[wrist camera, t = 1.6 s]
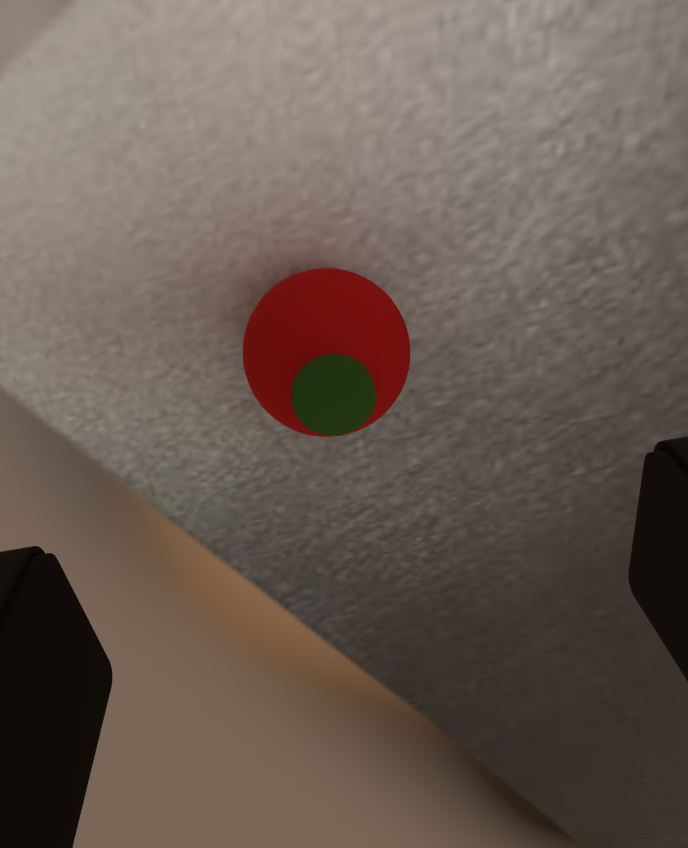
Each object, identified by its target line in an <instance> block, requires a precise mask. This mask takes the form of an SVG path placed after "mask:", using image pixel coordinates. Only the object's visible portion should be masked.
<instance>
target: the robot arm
mask: <svg viewBox="0 0 688 848" xmlns="http://www.w3.org/2000/svg"><path fill="white" fill-rule="evenodd" d="M628 578H629V584H630V588H631V591H632V593H633V595H634V597H635V599H636V600H637V602H638V603H639V605H640V607H641V608H642V610H643V611H644V613H645V615H646V616H647V618H648V619H649V621H650V622H651V624H652V626H653V627H654V629H655V630H656V632H657V633H658V635H659V637H660V638H661V640H662V641H663V643H664V644H665V646H666V648H667V649H668V651H669V652H670V654H671V656H672V657H673V659H674V660H675V662H676V663H677V665H678V667H679V668H680V670H681V671H682V673H683V674H684V676H685V678H686V679H687V681H688V437H683V438H677V439H671V440H665V441H661V442H658V443H657V445H656V446H655V449H654V452H650V453H648V454H647V455H646V456H645V460H644V466H643V473H642V481H641V488H640V495H639V502H638V509H637V516H636V523H635V531H634V538H633V545H632V552H631V559H630V566H629V576H628ZM111 686H112V668H111V664H110V661H109V659H108V657H107V655H106V654H105V652H104V649H103V647H102V646H101V644H100V642H99V640H98V638H97V636H96V634H95V632H94V630H93V628H92V626H91V624H90V622H89V620H88V618H87V616H86V614H85V612H84V611H83V608H82V606H81V605H80V603H79V601H78V599H77V597H76V595H75V593H74V591H73V589H72V587H71V585H70V583H69V581H68V579H67V577H66V575H65V573H64V571H63V569H62V568H61V565H60V563H59V562H58V560H57V558H56V557H55V555H53V554H52V553H47V554H45V553H44V551H43V550H42V549H41V548H40V547H38V546H32V547H27V548H21V549H15V550H9V551H3V552H0V848H72V847H73V843H74V838H75V835H76V830H77V826H78V822H79V818H80V814H81V810H82V806H83V802H84V797H85V793H86V789H87V785H88V781H89V777H90V773H91V768H92V764H93V760H94V756H95V752H96V748H97V744H98V740H99V736H100V732H101V727H102V723H103V719H104V715H105V711H106V707H107V703H108V699H109V694H110V690H111Z"/></svg>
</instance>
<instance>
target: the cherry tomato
mask: <svg viewBox="0 0 688 848" xmlns="http://www.w3.org/2000/svg"><path fill="white" fill-rule="evenodd" d="M243 364H244V370H245V374H246V377H247V380H248V383H249V386H250V388H251V390H252V392H253V394H254V396H255V397H256V398H257V400H258V401H259V403H260V404H261V405H262V407H263V408H264V409H265V410H266V411H267V412H268V413H269V414H270V415H271V416H272V417H273V418H275V419H276V420H277V421H279V422H280V423H282V424H283V425H285V426H287V427H289V428H291V429H293V430H295V431H298V432H300V433H303V434H308V435H312V436H321V437H332V436H341V435H345V434H350V433H352V432H355V431H358V430H360V429H363V428H365V427H367V426H368V425H370V424H372V423H373V422H375V421H376V420H377V419H379V418H380V417H381V416H382V415H383V414H384V413H385V412H386V411H387V410H388V409H389V408H390V407H391V406H392V404H393V403H394V402H395V400H396V399H397V397H398V396H399V394H400V392H401V390H402V388H403V386H404V383H405V381H406V377H407V374H408V370H409V364H410V342H409V335H408V331H407V328H406V325H405V322H404V319H403V317H402V315H401V313H400V311H399V310H398V308H397V307H396V305H395V304H394V302H393V301H392V299H391V298H390V297H389V296H388V295H387V294H386V293H385V292H384V291H383V290H382V289H381V288H379V287H378V286H377V285H376V284H374V283H373V282H371V281H370V280H368V279H366V278H365V277H363V276H360V275H358V274H356V273H353V272H349V271H346V270H340V269H332V268H320V269H312V270H307V271H303V272H300V273H298V274H295V275H292V276H290V277H288V278H286V279H285V280H283V281H281V282H280V283H278V284H277V285H275V286H274V287H273V288H272V289H271V290H270V291H268V292H267V293H266V294H265V296H264V297H263V298H262V299H261V300H260V302H259V303H258V305H257V306H256V308H255V309H254V311H253V313H252V314H251V317H250V319H249V321H248V324H247V328H246V331H245V335H244V341H243Z"/></svg>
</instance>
